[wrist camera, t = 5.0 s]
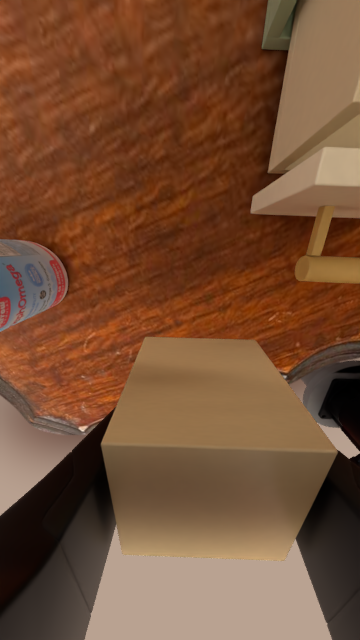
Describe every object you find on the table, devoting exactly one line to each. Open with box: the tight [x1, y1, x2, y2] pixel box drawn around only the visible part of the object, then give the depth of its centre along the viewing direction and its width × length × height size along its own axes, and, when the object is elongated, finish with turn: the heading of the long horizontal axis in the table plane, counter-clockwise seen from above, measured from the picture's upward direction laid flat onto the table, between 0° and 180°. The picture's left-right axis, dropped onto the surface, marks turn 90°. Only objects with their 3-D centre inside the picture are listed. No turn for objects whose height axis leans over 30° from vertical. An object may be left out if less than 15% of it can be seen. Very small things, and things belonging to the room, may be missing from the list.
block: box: [101, 337, 338, 561], centre depth 7 cm, size 5×5×5 cm
